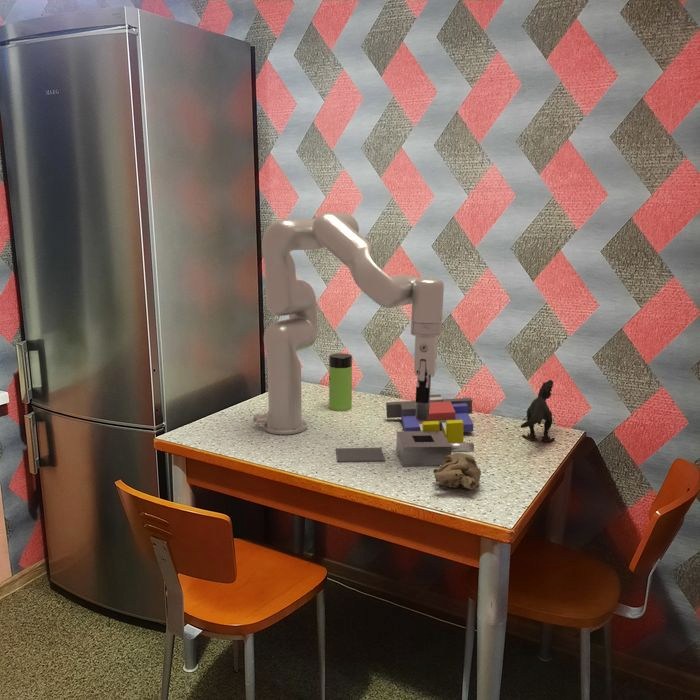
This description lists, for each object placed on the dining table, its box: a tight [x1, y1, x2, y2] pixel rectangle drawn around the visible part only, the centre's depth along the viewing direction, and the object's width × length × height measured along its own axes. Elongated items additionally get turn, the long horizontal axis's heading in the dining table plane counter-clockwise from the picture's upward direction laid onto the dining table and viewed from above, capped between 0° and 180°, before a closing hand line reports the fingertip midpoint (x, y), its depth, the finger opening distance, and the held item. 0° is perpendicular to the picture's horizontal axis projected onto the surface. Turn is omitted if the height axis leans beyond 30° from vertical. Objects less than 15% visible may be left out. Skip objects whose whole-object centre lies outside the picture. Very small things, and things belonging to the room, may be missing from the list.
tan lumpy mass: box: [433, 452, 482, 490], centre depth 146 cm, size 7×11×15 cm
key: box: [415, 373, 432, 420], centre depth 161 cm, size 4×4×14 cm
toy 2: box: [520, 379, 556, 444], centre depth 175 cm, size 9×28×15 cm, turn 151°
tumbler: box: [328, 352, 353, 412], centre depth 205 cm, size 8×8×17 cm
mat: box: [335, 447, 386, 463], centre depth 165 cm, size 12×9×1 cm
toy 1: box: [385, 393, 474, 443], centre depth 186 cm, size 26×9×30 cm
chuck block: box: [395, 430, 475, 468], centre depth 164 cm, size 19×12×5 cm, turn 94°
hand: (422, 399), depth 161 cm, fingers closed on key, 3 cm apart
